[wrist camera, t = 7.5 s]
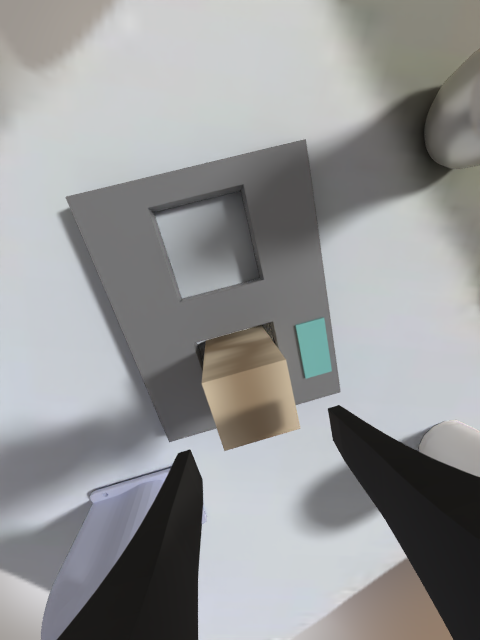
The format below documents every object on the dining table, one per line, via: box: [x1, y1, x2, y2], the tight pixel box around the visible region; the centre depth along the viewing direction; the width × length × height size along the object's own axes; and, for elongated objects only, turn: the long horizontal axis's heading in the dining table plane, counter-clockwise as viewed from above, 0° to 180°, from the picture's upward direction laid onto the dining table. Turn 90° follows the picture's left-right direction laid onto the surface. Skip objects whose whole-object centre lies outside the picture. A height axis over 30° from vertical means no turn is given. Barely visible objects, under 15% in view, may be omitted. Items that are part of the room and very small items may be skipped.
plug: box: [202, 325, 300, 451], centre depth 17 cm, size 5×5×7 cm
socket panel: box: [66, 139, 340, 442], centre depth 18 cm, size 16×20×2 cm
